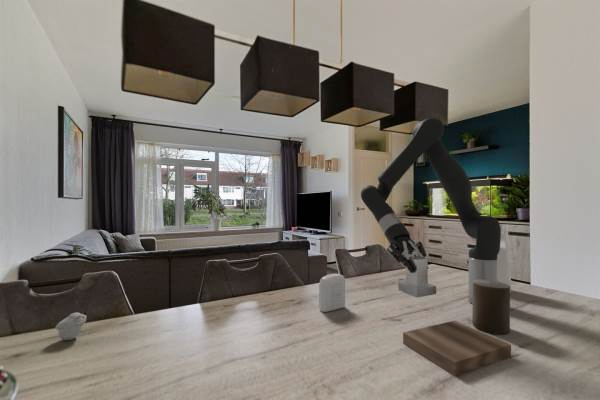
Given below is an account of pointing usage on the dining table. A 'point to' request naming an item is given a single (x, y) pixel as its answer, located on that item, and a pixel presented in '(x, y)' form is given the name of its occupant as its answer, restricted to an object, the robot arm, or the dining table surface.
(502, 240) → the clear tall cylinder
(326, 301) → the photo printer
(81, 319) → the frog figurine
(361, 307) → the dining table surface
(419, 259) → the block
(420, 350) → the walnut plinth
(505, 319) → the pillar candle
